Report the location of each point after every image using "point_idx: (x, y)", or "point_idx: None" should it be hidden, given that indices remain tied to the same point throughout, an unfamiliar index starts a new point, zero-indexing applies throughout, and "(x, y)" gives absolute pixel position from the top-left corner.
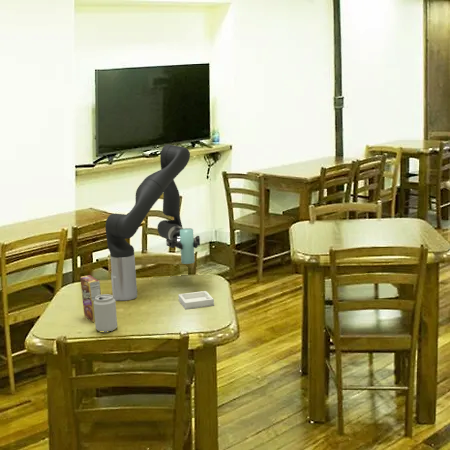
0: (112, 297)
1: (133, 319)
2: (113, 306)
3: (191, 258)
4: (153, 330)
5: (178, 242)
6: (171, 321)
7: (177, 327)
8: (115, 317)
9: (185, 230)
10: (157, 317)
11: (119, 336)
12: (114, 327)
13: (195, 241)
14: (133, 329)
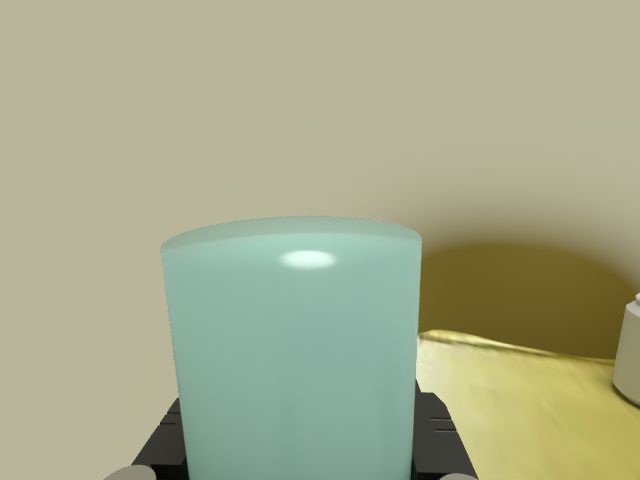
0: (636, 297)
1: (599, 440)
2: (624, 316)
3: None
4: (490, 360)
5: (446, 466)
6: (447, 389)
7: (427, 358)
8: (617, 352)
9: (324, 226)
10: (503, 428)
11: (574, 357)
12: (613, 372)
13: (140, 470)
14: (554, 377)
